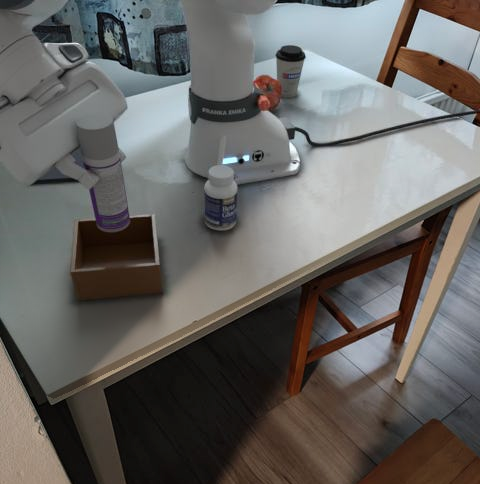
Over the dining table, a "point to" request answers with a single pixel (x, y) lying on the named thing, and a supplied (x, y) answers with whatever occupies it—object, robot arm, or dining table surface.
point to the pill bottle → (220, 198)
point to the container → (104, 170)
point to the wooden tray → (116, 259)
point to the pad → (57, 175)
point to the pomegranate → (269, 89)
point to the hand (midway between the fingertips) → (108, 173)
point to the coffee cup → (289, 69)
